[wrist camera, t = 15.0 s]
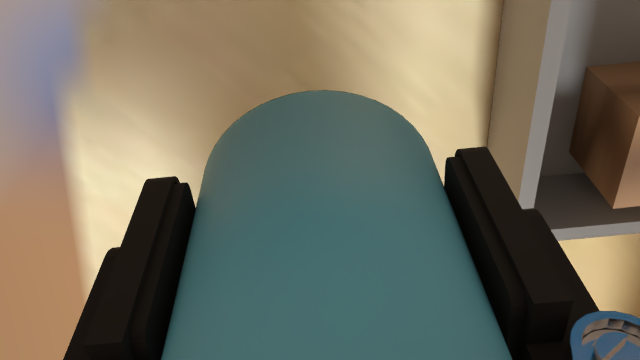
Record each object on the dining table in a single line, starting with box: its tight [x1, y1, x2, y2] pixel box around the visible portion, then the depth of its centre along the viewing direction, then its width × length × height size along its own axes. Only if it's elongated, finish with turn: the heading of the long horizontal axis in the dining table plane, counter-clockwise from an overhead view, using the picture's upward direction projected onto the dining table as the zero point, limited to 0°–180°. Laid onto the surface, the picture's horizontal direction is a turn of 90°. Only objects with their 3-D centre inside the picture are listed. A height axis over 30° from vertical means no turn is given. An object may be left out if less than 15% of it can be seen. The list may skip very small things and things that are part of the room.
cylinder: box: [161, 90, 512, 360], centre depth 9 cm, size 5×5×7 cm
